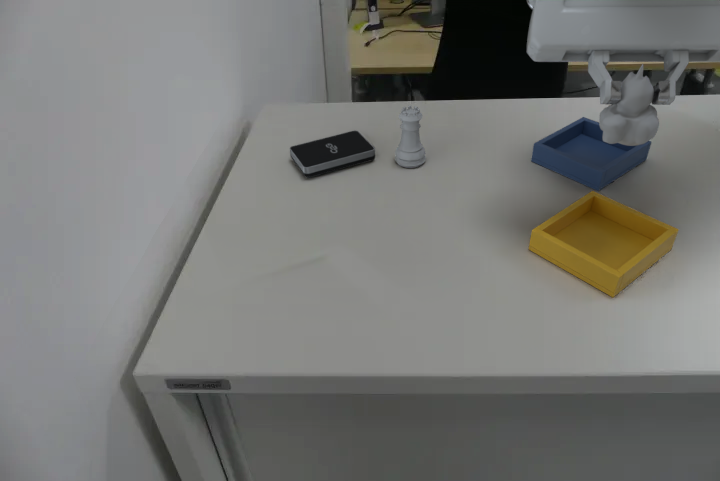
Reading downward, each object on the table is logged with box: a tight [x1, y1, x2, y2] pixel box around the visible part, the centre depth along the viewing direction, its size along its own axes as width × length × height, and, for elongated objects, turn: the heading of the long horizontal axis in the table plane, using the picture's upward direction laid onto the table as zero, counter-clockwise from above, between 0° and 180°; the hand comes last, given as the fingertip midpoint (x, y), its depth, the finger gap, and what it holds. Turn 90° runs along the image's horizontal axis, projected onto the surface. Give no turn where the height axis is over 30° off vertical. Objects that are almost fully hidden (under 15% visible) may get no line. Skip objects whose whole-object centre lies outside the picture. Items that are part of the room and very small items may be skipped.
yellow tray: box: [528, 190, 680, 298], centre depth 62 cm, size 12×11×3 cm
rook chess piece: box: [394, 105, 427, 169], centre depth 78 cm, size 4×4×8 cm
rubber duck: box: [598, 63, 660, 146], centre depth 54 cm, size 5×7×8 cm
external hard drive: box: [289, 129, 376, 179], centre depth 81 cm, size 7×11×2 cm, turn 114°
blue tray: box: [530, 116, 653, 192], centre depth 77 cm, size 12×11×3 cm
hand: (637, 102), depth 53 cm, fingers closed on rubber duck, 3 cm apart
